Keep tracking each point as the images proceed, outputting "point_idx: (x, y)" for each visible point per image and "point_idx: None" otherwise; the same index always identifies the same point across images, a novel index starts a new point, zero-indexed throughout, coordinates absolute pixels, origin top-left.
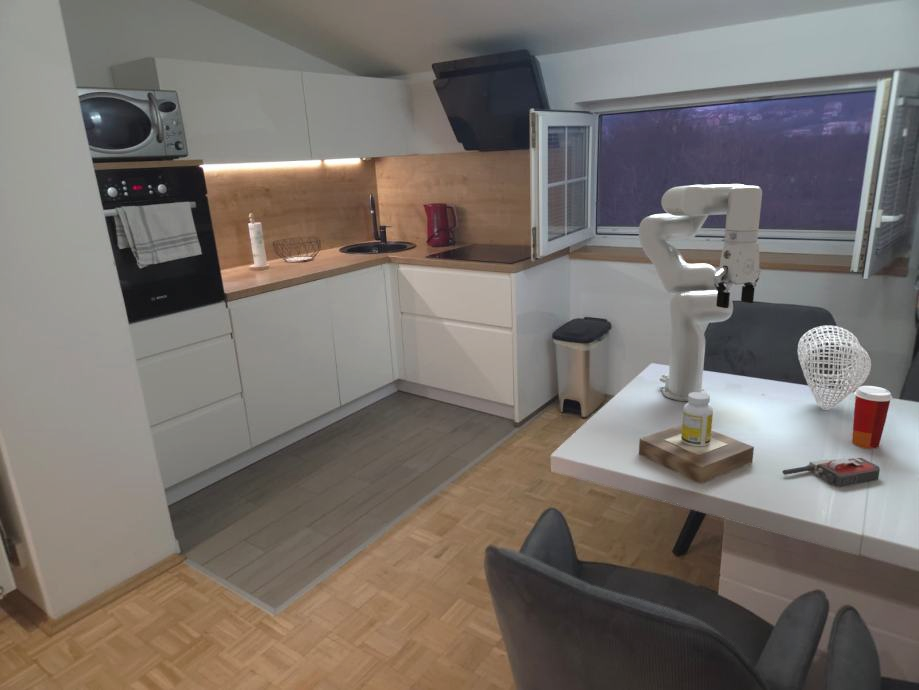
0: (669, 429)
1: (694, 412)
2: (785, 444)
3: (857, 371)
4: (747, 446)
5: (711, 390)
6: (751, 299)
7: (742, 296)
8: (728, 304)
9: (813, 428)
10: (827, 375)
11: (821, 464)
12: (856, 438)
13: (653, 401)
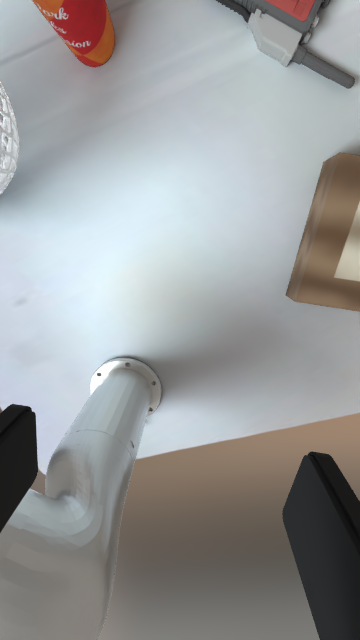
0: (353, 308)
1: None
2: (205, 158)
3: None
4: (345, 163)
5: (74, 369)
6: (17, 426)
7: (14, 503)
8: (331, 473)
9: (96, 156)
10: (2, 98)
11: (309, 17)
12: (109, 39)
13: (189, 404)
